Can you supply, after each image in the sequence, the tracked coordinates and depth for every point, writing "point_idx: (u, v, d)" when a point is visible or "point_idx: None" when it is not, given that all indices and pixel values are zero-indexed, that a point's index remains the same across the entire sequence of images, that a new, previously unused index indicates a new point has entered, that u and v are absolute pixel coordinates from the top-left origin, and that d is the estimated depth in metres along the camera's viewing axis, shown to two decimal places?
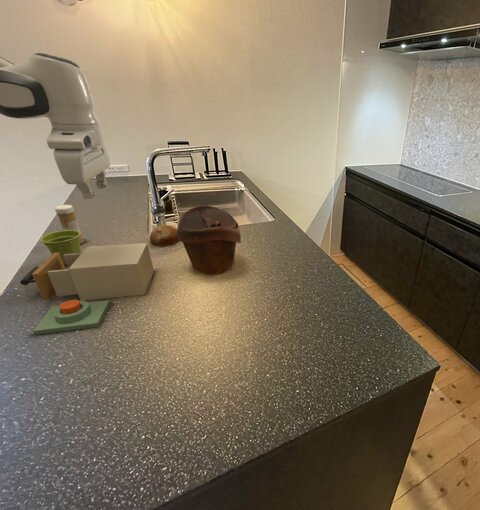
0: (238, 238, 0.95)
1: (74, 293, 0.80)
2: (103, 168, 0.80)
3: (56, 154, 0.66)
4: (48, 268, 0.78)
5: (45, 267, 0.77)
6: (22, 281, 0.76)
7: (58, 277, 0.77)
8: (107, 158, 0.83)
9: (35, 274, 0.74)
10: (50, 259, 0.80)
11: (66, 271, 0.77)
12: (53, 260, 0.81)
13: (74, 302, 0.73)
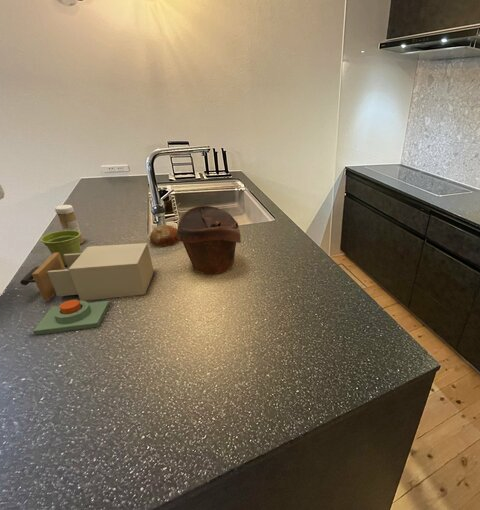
0: (238, 238, 0.95)
1: (74, 293, 0.80)
2: None
3: None
4: (48, 268, 0.78)
5: (45, 267, 0.77)
6: (22, 281, 0.76)
7: (58, 277, 0.77)
8: None
9: (35, 274, 0.74)
10: (50, 259, 0.80)
11: (66, 271, 0.77)
12: (53, 260, 0.81)
13: (74, 302, 0.73)
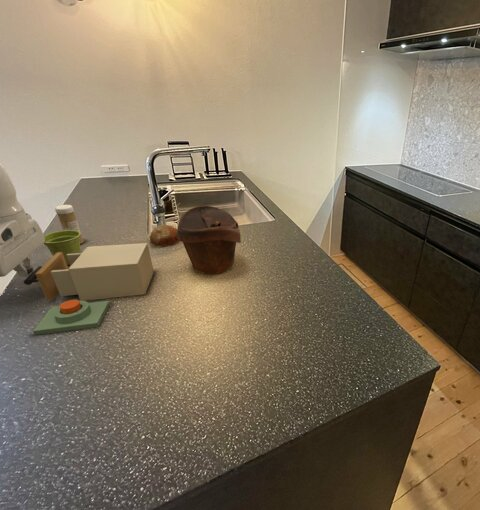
0: (238, 238, 0.95)
1: (77, 293, 0.80)
2: (34, 248, 0.80)
3: None
4: (51, 268, 0.79)
5: (48, 267, 0.78)
6: (25, 281, 0.76)
7: (61, 277, 0.77)
8: (41, 235, 0.83)
9: (39, 274, 0.75)
10: (53, 259, 0.81)
11: None
12: (56, 260, 0.81)
13: (74, 302, 0.73)
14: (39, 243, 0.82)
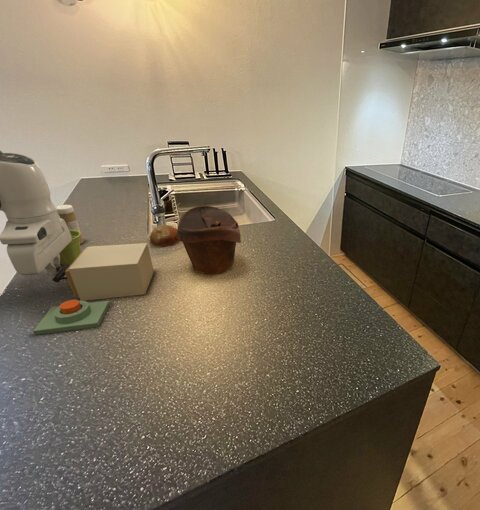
0: (238, 238, 0.95)
1: None
2: (63, 247, 0.82)
3: (9, 250, 0.67)
4: None
5: None
6: (54, 278, 0.78)
7: None
8: (68, 234, 0.85)
9: (68, 271, 0.76)
10: None
11: None
12: None
13: (74, 302, 0.73)
14: (67, 242, 0.84)
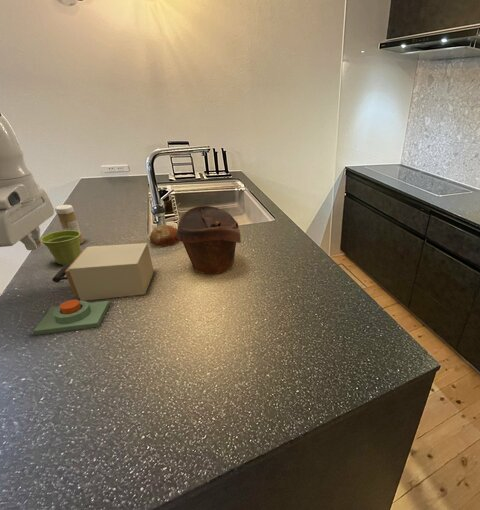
0: (238, 238, 0.95)
1: None
2: (43, 219, 0.72)
3: None
4: None
5: None
6: (54, 278, 0.78)
7: None
8: (50, 206, 0.76)
9: (68, 271, 0.76)
10: None
11: None
12: None
13: (74, 302, 0.73)
14: (48, 215, 0.74)
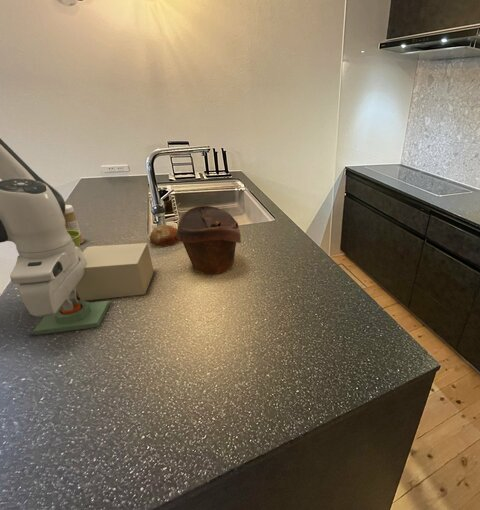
0: (238, 238, 0.95)
1: None
2: (79, 278, 0.74)
3: (21, 290, 0.59)
4: None
5: None
6: None
7: None
8: (84, 263, 0.77)
9: None
10: None
11: None
12: None
13: (75, 305, 0.73)
14: (83, 272, 0.76)
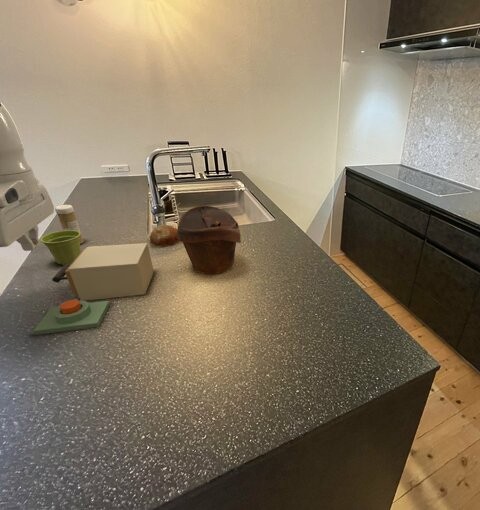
0: (238, 238, 0.95)
1: None
2: (42, 218, 0.68)
3: None
4: None
5: None
6: (54, 278, 0.78)
7: None
8: (50, 204, 0.71)
9: (68, 271, 0.76)
10: None
11: None
12: None
13: (74, 302, 0.73)
14: (47, 213, 0.70)
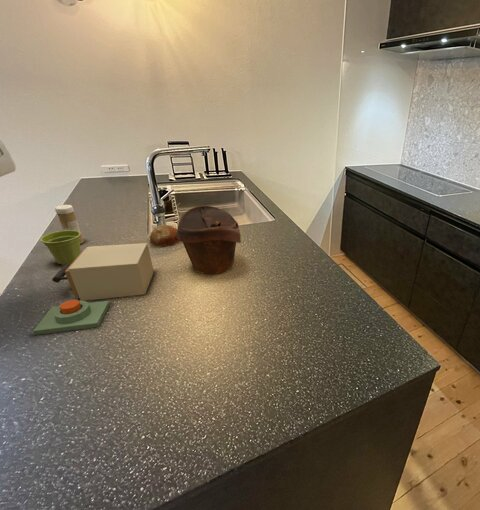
0: (238, 238, 0.95)
1: None
2: (0, 173, 0.66)
3: None
4: None
5: None
6: (54, 278, 0.78)
7: None
8: (10, 161, 0.69)
9: (68, 271, 0.76)
10: None
11: None
12: None
13: (74, 302, 0.73)
14: (7, 169, 0.68)
